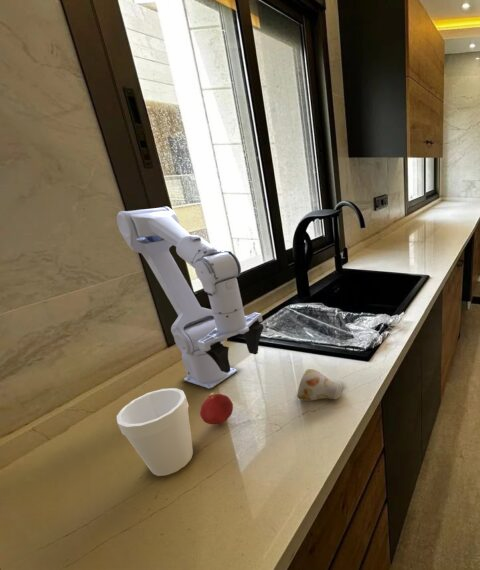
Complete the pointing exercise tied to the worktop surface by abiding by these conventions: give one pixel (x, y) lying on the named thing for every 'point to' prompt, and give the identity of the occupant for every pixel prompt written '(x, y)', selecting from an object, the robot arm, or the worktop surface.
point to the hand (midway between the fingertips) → (240, 361)
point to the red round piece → (216, 409)
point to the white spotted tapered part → (317, 386)
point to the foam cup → (159, 429)
